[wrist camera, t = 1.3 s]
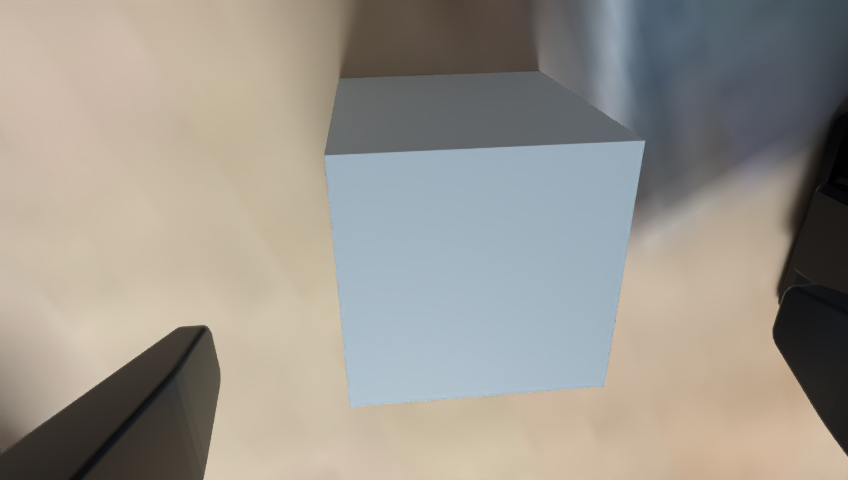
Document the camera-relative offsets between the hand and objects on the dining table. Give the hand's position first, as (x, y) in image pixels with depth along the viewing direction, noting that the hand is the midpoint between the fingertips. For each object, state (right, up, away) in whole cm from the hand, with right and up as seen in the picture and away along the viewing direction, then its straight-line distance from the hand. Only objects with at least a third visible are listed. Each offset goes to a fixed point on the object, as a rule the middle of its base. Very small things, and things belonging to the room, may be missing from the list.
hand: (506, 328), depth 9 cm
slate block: (-1, +3, +6) cm, 7 cm away
